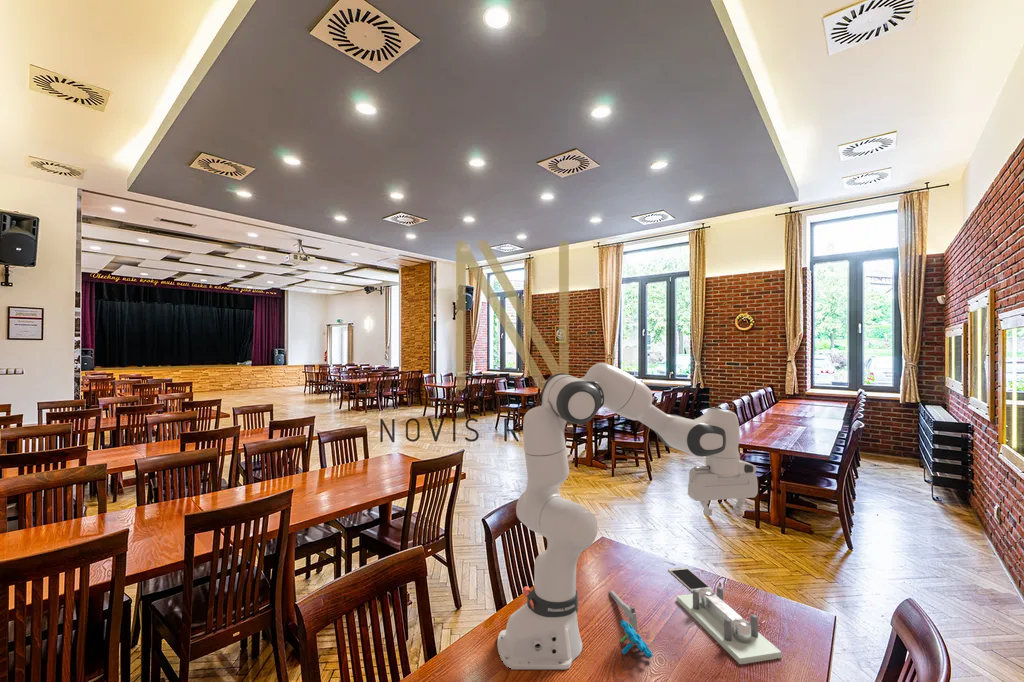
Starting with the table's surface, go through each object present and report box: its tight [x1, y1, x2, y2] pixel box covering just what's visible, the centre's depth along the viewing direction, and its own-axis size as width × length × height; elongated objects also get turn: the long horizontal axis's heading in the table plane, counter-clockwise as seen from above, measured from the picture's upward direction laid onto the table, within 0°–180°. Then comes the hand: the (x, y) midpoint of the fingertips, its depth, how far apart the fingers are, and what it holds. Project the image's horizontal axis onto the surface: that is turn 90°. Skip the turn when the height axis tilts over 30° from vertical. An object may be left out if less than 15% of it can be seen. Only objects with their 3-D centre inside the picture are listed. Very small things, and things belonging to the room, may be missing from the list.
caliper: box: [608, 590, 638, 633], centre depth 130 cm, size 20×1×6 cm, turn 6°
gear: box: [620, 619, 653, 659], centre depth 113 cm, size 11×6×10 cm
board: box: [676, 586, 783, 665], centre depth 123 cm, size 12×28×6 cm, turn 11°
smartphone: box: [667, 566, 714, 594], centre depth 147 cm, size 7×15×1 cm, turn 11°
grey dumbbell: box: [699, 588, 751, 644], centre depth 123 cm, size 4×19×4 cm, turn 11°
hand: (722, 514), depth 123 cm, fingers open, 8 cm apart
